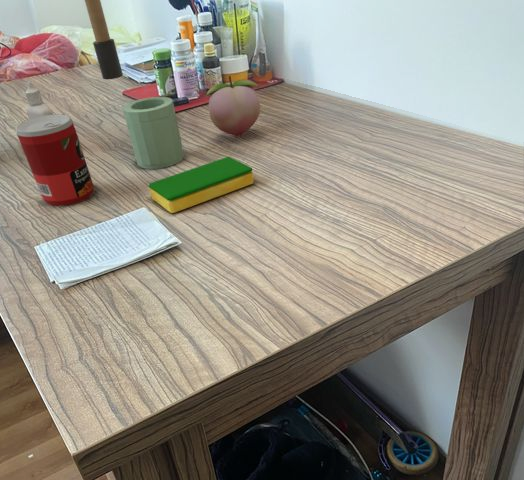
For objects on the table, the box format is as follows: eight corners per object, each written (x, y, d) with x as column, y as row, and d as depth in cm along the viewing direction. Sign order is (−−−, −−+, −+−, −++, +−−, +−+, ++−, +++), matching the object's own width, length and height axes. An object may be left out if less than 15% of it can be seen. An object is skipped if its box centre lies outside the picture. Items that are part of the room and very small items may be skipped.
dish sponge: (151, 199, 76) (147, 183, 74) (230, 171, 81) (228, 155, 79) (172, 214, 71) (168, 198, 69) (255, 183, 76) (253, 167, 74)
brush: (109, 80, 80) (74, -49, 69) (99, 78, 82) (63, -48, 71) (126, 75, 81) (94, -52, 71) (116, 73, 83) (83, -51, 73)
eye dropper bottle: (63, 144, 100) (40, 77, 92) (67, 152, 96) (42, 83, 88) (41, 149, 99) (15, 82, 91) (43, 158, 95) (16, 88, 87)
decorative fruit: (254, 124, 97) (248, 66, 91) (268, 137, 91) (262, 75, 84) (207, 134, 95) (197, 75, 89) (217, 148, 89) (207, 85, 83)
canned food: (91, 203, 77) (65, 127, 70) (38, 210, 77) (7, 135, 70) (99, 182, 83) (76, 111, 76) (50, 189, 83) (22, 118, 76)
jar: (154, 172, 84) (140, 114, 78) (128, 162, 88) (113, 107, 83) (192, 156, 87) (182, 100, 82) (166, 148, 92) (154, 94, 86)
